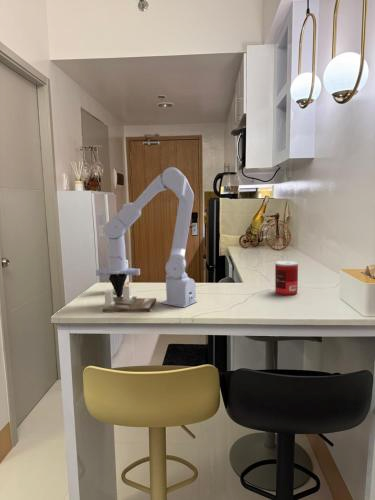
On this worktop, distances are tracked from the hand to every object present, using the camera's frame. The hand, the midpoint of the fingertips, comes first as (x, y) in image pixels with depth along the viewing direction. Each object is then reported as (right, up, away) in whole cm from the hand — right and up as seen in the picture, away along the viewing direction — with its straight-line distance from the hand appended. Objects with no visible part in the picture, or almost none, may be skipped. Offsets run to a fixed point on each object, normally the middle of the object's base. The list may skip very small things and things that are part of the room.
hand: (119, 296), depth 124 cm
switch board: (+4, -3, -3) cm, 6 cm away
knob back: (+3, -1, 0) cm, 3 cm away
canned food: (+58, 0, +8) cm, 59 cm away
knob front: (-2, -2, -6) cm, 7 cm away
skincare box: (-2, -1, +16) cm, 16 cm away
